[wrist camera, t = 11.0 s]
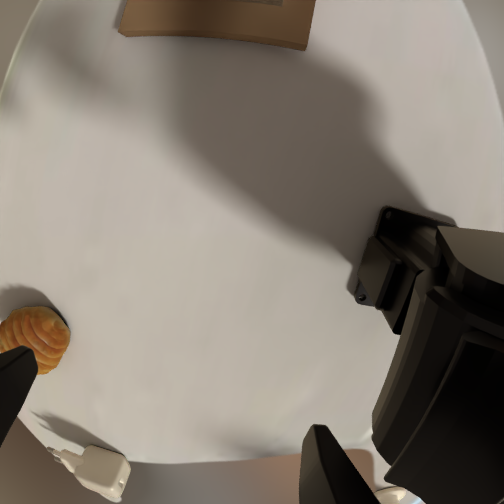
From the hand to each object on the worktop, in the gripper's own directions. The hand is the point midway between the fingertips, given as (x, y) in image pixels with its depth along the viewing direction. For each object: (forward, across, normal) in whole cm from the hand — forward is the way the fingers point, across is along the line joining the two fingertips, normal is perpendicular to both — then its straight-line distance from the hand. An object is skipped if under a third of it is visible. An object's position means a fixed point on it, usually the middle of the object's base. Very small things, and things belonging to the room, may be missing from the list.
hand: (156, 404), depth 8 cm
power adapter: (+12, +14, +31) cm, 36 cm away
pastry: (+12, +17, +12) cm, 24 cm away
